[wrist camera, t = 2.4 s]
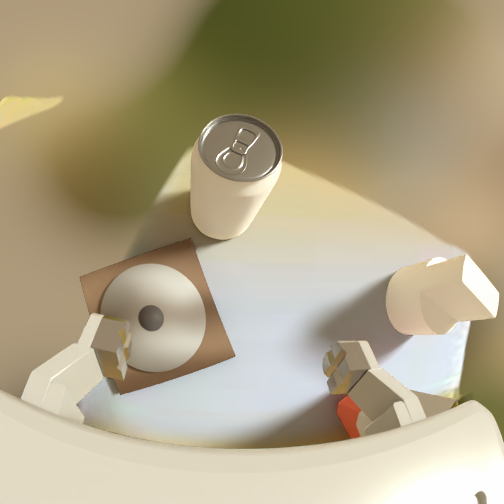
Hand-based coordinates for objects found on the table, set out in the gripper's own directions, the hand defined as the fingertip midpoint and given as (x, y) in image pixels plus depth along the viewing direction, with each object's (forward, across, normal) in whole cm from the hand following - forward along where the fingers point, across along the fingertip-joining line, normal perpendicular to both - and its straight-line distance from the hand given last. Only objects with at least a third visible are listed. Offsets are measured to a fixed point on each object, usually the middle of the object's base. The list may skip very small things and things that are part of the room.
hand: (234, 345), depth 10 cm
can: (+20, 0, +3) cm, 20 cm away
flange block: (+11, +6, +11) cm, 17 cm away
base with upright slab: (+15, -25, +8) cm, 30 cm away
